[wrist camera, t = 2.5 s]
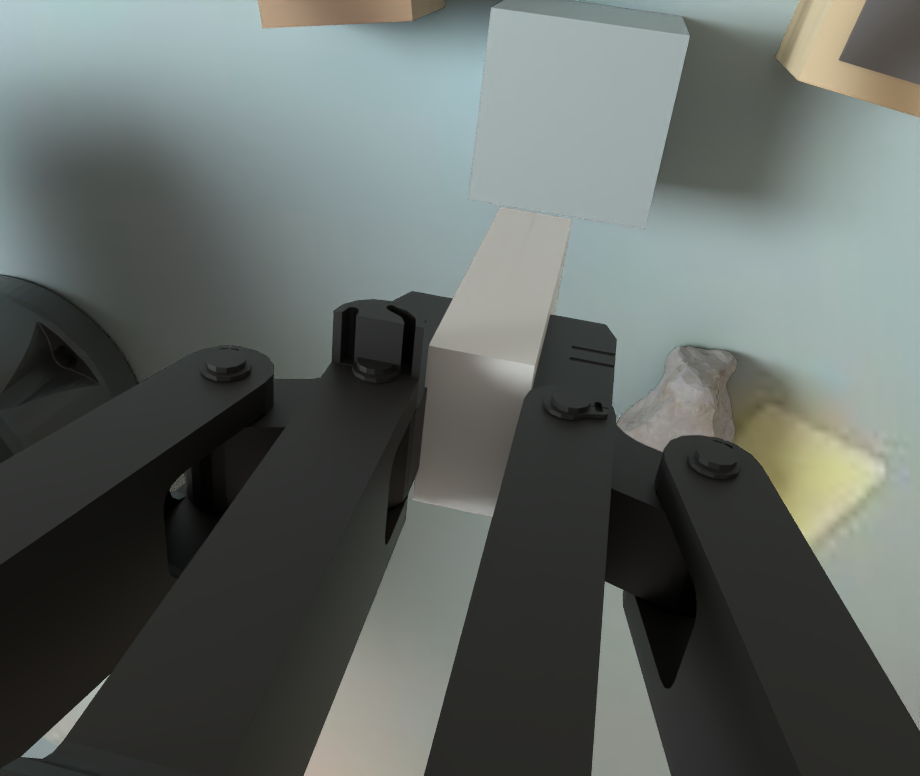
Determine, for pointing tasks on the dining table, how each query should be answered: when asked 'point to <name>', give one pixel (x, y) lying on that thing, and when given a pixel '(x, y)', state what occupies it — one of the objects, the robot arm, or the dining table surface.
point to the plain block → (576, 108)
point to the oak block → (857, 49)
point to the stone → (685, 400)
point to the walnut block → (342, 11)
